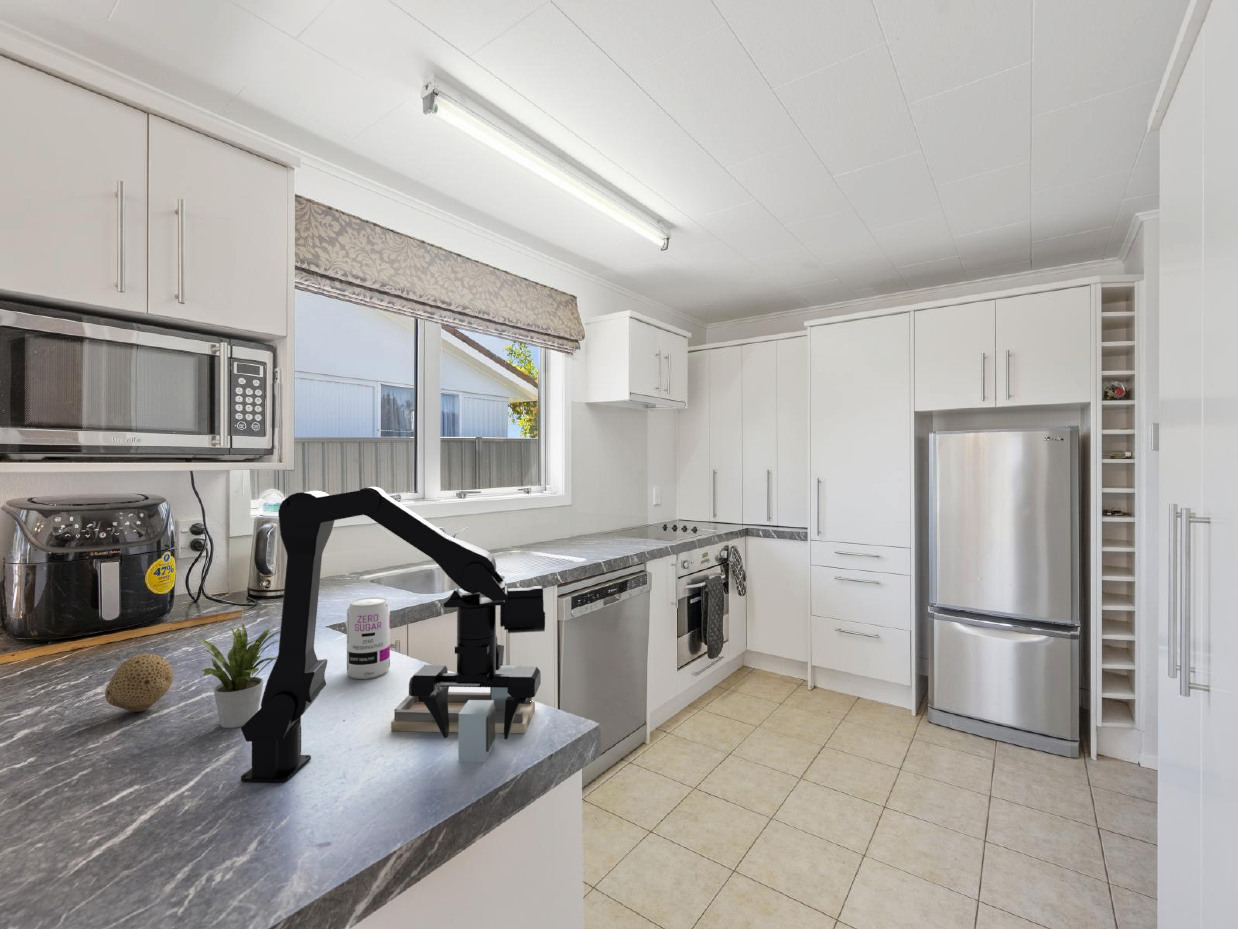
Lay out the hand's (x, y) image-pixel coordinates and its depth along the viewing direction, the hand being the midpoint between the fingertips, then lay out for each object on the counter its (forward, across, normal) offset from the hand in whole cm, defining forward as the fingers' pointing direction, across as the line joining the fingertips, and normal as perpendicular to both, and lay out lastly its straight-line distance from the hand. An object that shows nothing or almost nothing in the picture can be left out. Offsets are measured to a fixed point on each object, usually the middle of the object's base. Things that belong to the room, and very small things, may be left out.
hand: (476, 737), depth 87 cm
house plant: (+2, +42, -9) cm, 43 cm away
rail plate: (+2, +5, -11) cm, 12 cm away
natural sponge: (+2, +63, -12) cm, 64 cm away
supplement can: (+2, +32, -32) cm, 45 cm away
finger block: (+2, 0, 0) cm, 2 cm away
